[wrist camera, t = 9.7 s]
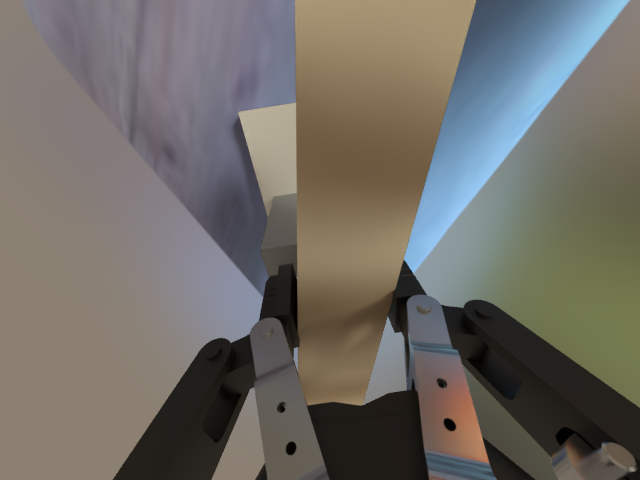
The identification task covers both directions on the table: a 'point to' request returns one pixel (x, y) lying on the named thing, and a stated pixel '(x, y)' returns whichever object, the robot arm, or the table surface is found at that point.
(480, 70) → the table surface
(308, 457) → the robot arm
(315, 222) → the rectangular block
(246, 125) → the stand
